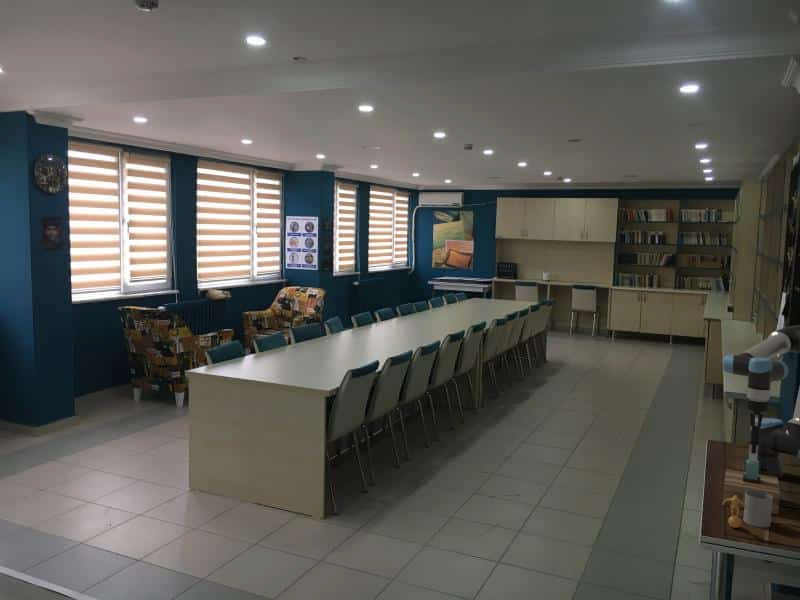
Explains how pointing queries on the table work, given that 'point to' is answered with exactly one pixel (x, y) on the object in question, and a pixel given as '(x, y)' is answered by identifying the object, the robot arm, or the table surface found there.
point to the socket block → (750, 487)
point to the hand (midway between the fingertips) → (752, 460)
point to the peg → (752, 470)
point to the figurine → (735, 520)
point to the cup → (758, 508)
